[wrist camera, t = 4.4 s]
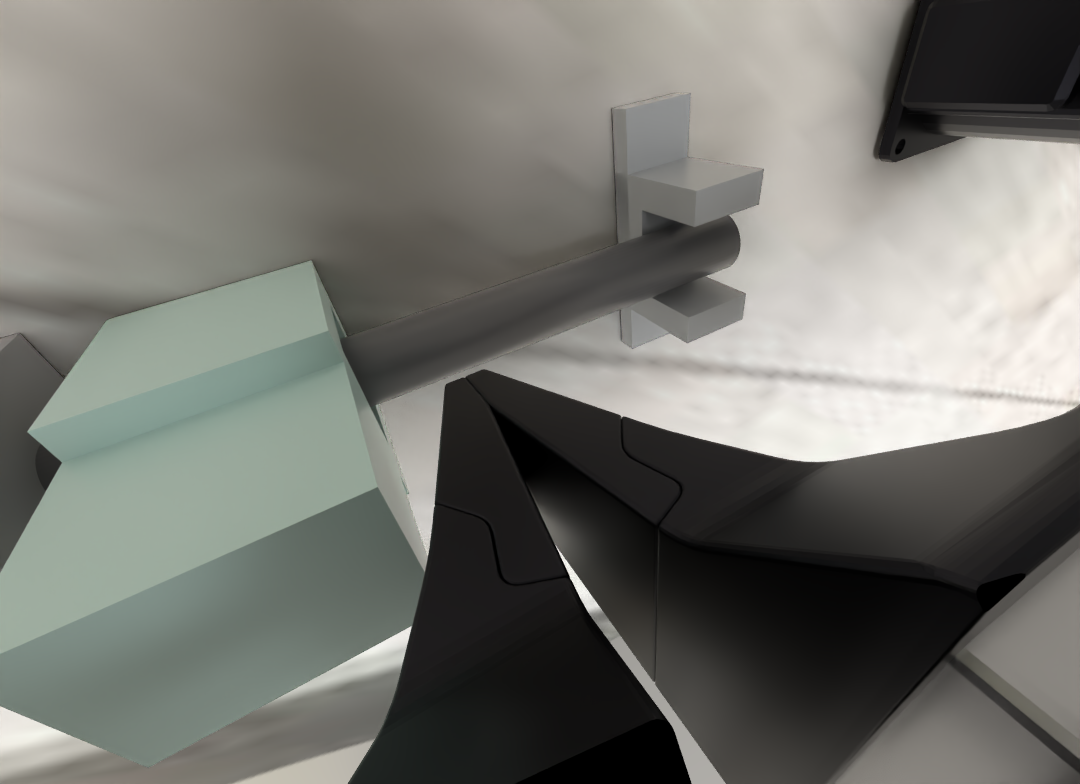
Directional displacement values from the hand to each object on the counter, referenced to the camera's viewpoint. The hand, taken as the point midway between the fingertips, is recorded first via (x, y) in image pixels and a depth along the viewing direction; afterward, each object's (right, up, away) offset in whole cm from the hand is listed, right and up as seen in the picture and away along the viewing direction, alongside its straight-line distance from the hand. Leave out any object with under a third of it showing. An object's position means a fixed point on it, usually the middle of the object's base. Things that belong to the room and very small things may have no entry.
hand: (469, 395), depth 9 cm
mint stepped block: (-5, +1, +2) cm, 6 cm away
